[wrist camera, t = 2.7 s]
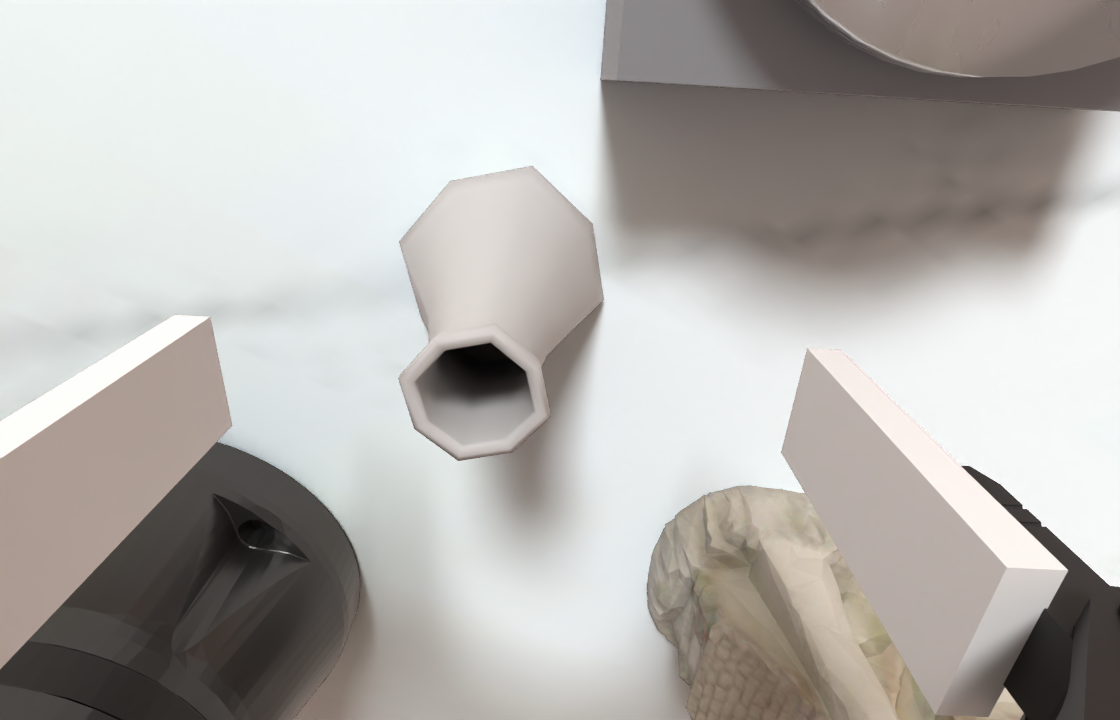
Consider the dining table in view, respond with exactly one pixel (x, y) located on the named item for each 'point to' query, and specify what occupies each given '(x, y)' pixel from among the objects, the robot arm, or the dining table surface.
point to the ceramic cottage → (776, 617)
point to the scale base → (807, 58)
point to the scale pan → (977, 33)
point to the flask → (494, 307)
